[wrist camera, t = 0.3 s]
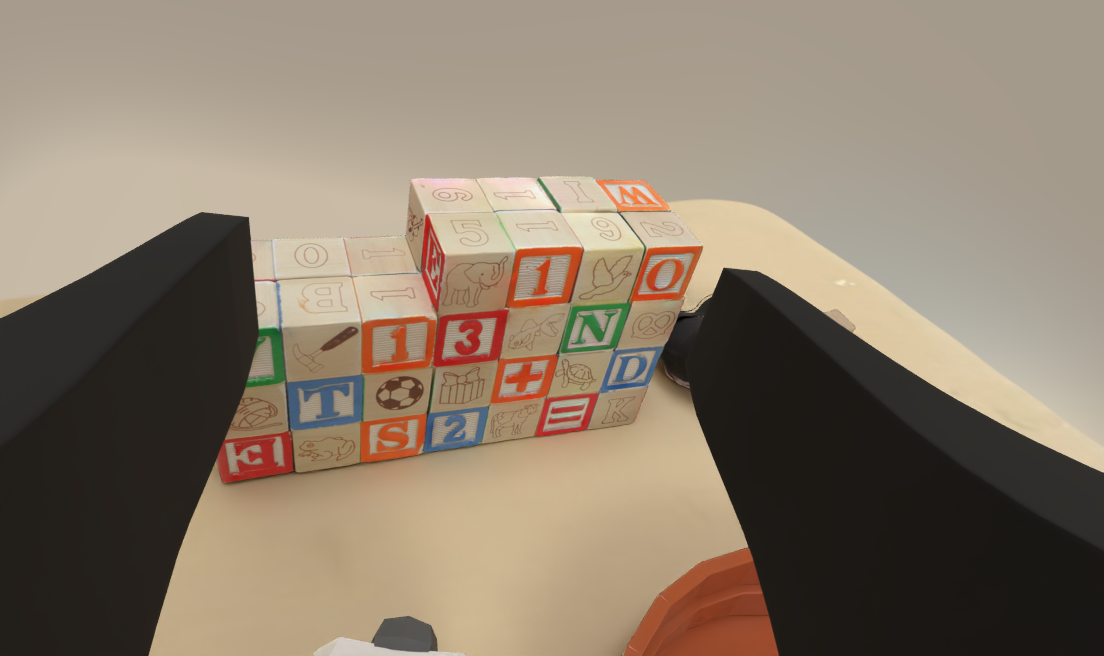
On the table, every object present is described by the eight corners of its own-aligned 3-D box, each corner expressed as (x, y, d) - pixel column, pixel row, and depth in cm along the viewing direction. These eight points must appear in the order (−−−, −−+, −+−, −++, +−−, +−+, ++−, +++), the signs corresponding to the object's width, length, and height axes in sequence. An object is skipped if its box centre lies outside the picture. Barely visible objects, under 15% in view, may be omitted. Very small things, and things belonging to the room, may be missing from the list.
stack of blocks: (218, 490, 29) (168, 265, 21) (220, 390, 33) (178, 173, 26) (636, 423, 37) (709, 242, 29) (594, 349, 41) (648, 175, 34)
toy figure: (769, 303, 50) (624, 345, 42) (815, 239, 46) (664, 272, 37) (838, 371, 46) (694, 432, 38) (894, 308, 42) (746, 362, 34)
